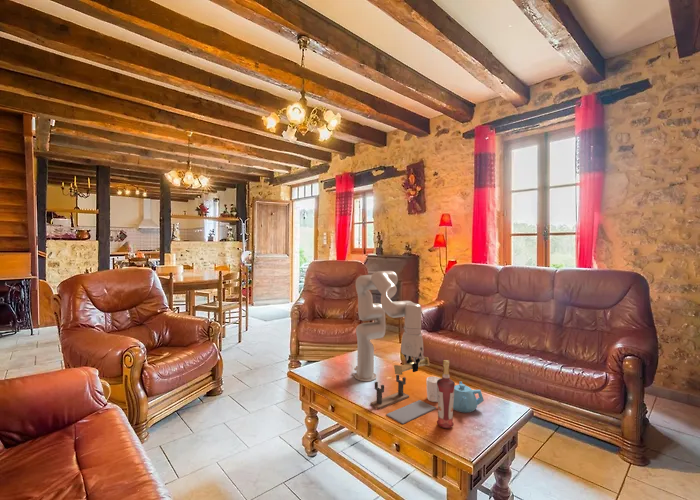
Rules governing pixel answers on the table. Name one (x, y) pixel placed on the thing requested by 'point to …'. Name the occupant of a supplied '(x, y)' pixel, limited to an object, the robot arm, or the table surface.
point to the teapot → (466, 398)
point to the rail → (410, 366)
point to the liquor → (445, 398)
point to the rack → (392, 398)
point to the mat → (411, 411)
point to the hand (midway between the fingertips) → (412, 369)
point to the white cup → (432, 388)
